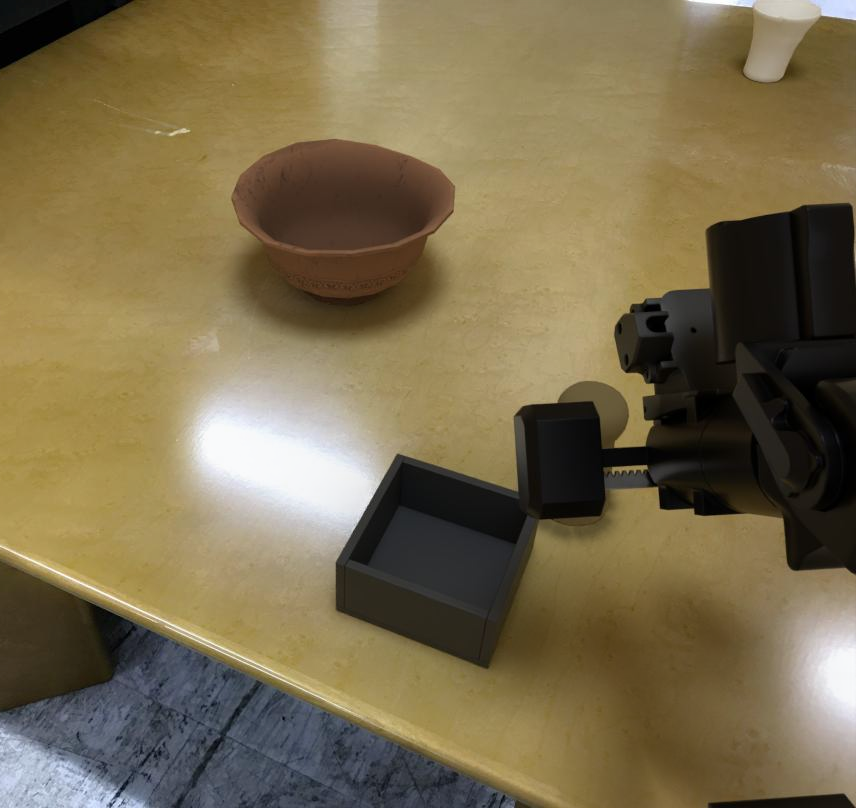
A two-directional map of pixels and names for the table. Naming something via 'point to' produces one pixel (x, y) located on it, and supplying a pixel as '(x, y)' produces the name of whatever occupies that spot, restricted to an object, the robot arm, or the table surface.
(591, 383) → the cork
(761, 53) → the cup
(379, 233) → the bowl
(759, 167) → the table surface
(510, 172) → the table surface
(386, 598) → the dark grey square box
